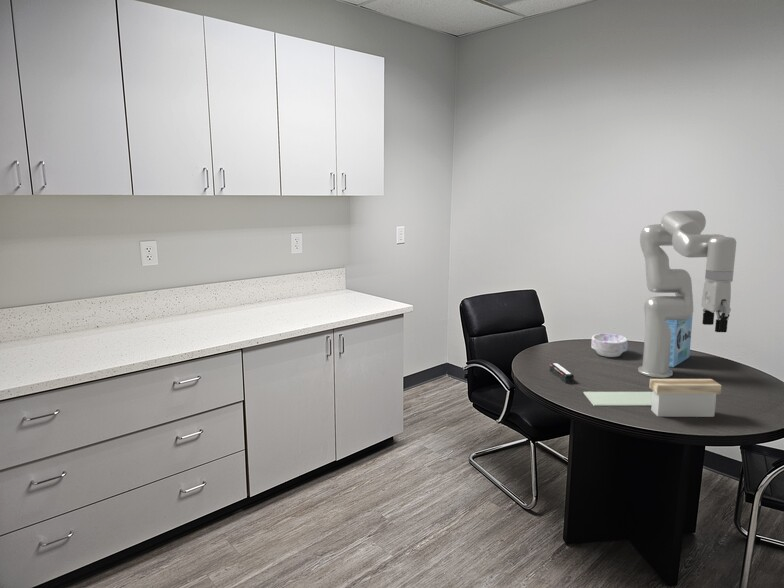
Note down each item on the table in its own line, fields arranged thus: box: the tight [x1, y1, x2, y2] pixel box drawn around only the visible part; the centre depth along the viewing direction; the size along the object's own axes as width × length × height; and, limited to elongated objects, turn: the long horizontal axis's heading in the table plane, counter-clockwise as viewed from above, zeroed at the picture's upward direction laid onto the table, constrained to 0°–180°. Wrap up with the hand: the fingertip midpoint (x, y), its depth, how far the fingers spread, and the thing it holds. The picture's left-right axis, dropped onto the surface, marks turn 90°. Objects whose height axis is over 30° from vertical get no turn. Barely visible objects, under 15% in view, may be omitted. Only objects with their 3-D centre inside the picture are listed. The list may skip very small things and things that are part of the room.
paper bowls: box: [590, 333, 629, 358], centre depth 239 cm, size 15×15×8 cm
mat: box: [583, 391, 653, 407], centre depth 188 cm, size 12×26×1 cm, turn 87°
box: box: [650, 390, 717, 418], centre depth 175 cm, size 5×18×8 cm, turn 87°
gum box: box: [666, 313, 694, 368], centre depth 226 cm, size 20×5×23 cm, turn 133°
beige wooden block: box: [648, 378, 722, 395], centre depth 174 cm, size 6×20×3 cm, turn 87°
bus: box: [549, 362, 575, 385], centre depth 214 cm, size 14×25×4 cm, turn 7°
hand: (714, 328), depth 171 cm, fingers open, 9 cm apart
